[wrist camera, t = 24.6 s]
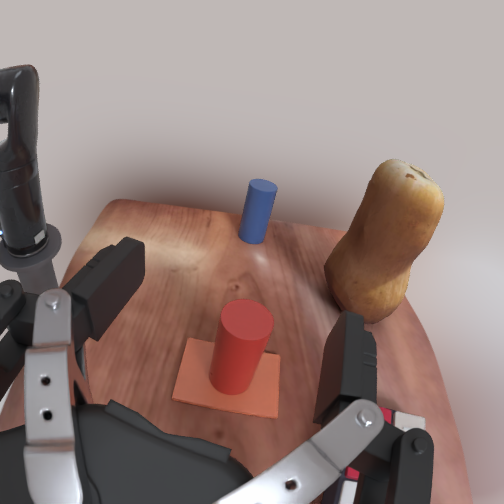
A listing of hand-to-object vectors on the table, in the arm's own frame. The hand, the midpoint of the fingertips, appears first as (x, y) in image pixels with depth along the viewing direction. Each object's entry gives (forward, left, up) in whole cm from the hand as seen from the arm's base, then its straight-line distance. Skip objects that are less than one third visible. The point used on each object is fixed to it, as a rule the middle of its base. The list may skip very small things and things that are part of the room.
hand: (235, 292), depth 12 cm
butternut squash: (+20, +28, -25) cm, 43 cm away
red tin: (+2, +11, -24) cm, 27 cm away
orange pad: (+2, +11, -25) cm, 27 cm away
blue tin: (+2, +42, -25) cm, 49 cm away
